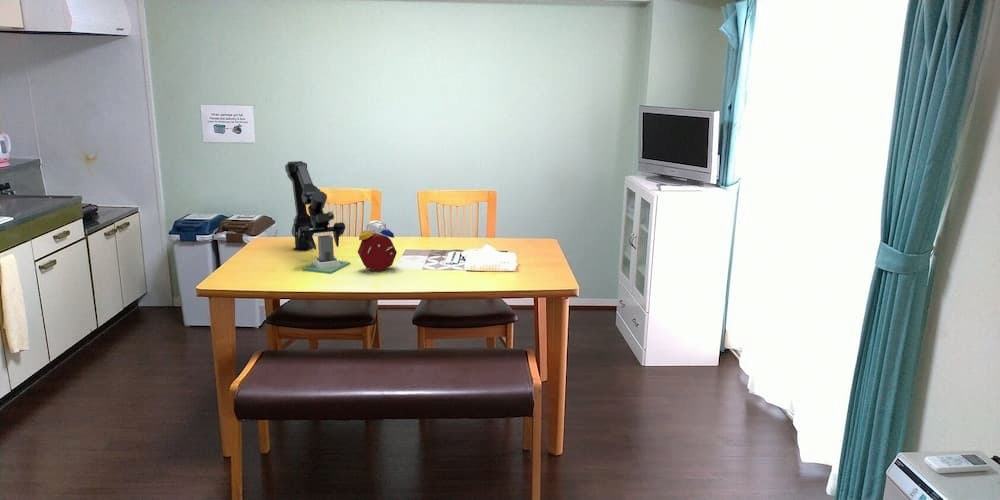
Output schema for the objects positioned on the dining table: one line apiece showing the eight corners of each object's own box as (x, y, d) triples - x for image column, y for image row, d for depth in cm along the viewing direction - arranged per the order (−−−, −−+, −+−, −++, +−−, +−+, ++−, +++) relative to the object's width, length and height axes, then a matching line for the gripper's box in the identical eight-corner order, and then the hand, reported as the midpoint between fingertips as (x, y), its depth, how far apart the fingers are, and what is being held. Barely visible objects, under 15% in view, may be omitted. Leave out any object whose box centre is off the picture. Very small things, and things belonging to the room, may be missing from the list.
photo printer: (368, 245, 333) (367, 219, 329) (376, 244, 335) (375, 218, 332) (379, 250, 325) (378, 223, 322) (387, 248, 328) (386, 222, 324)
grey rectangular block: (319, 264, 297) (317, 236, 294) (331, 263, 300) (329, 235, 297) (322, 267, 294) (321, 238, 291) (334, 265, 296) (333, 237, 293)
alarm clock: (393, 266, 300) (392, 219, 295) (398, 271, 292) (397, 223, 287) (358, 269, 295) (356, 221, 290) (362, 275, 287) (360, 225, 282)
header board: (302, 270, 292) (302, 262, 291) (322, 261, 306) (322, 253, 305) (331, 273, 288) (330, 265, 288) (350, 264, 302) (349, 256, 301)
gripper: (297, 207, 290) (307, 239, 283) (343, 203, 299) (353, 234, 292) (293, 222, 298) (302, 254, 292) (337, 218, 307) (347, 249, 301)
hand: (326, 247), depth 294 cm, fingers open, 9 cm apart
